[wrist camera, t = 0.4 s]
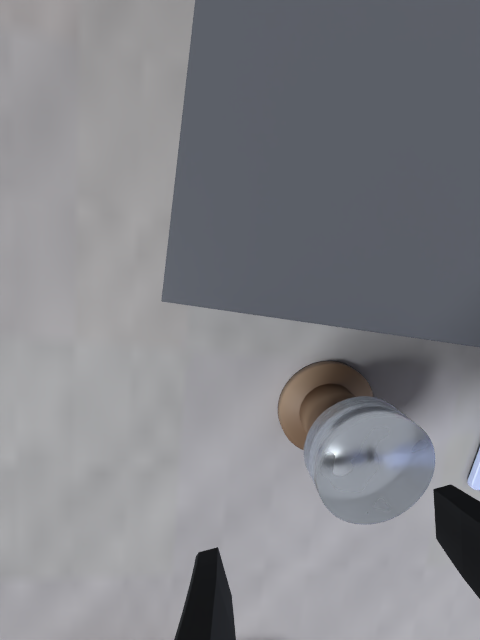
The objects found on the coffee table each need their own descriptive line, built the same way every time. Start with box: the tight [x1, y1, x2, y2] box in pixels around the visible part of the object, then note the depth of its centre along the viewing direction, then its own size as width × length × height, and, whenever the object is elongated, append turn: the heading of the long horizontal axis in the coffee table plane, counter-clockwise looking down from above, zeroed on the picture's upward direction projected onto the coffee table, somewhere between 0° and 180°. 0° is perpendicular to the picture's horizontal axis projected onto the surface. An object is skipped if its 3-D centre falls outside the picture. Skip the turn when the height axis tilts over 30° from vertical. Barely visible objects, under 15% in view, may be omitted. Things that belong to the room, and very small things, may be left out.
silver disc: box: [304, 396, 435, 524], centre depth 13 cm, size 5×5×2 cm
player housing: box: [162, 0, 480, 347], centre depth 12 cm, size 14×18×5 cm
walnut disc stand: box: [278, 361, 373, 450], centre depth 16 cm, size 6×6×4 cm
